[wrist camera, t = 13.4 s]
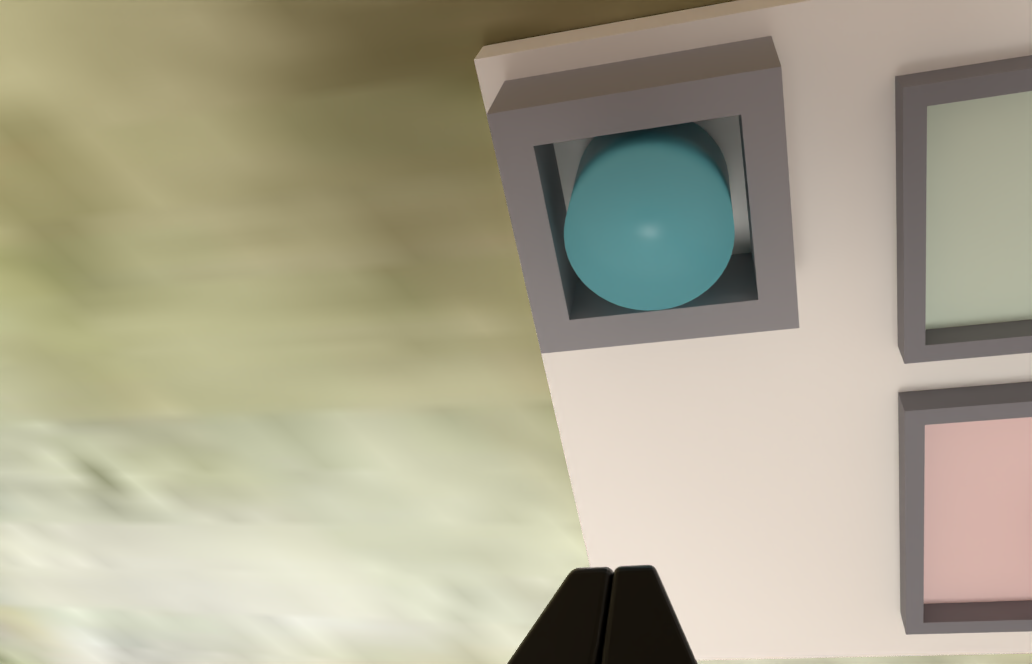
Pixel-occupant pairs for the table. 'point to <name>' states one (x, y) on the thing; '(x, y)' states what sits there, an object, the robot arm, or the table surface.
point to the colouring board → (802, 320)
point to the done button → (650, 216)
